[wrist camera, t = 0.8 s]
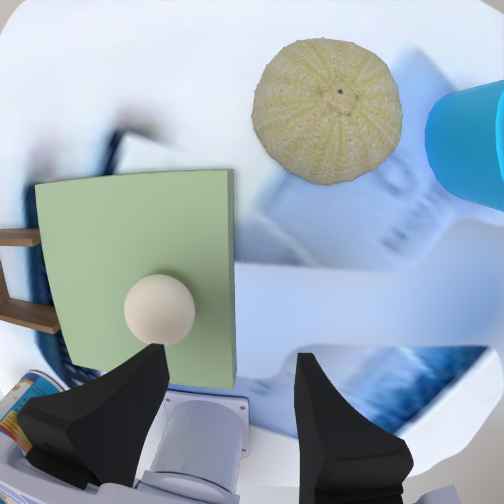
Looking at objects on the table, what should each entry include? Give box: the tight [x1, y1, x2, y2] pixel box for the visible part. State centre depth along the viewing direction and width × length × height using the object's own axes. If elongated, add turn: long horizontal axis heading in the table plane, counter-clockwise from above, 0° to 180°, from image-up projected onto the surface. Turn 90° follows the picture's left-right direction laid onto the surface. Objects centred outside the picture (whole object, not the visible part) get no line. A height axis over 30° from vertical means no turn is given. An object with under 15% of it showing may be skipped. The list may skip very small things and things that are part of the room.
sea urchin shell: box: [251, 37, 403, 186], centre depth 16 cm, size 9×8×8 cm
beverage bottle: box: [0, 371, 63, 504], centre depth 19 cm, size 8×8×20 cm
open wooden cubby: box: [0, 228, 61, 334], centre depth 20 cm, size 11×11×7 cm
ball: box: [124, 274, 195, 346], centre depth 18 cm, size 4×4×4 cm
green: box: [35, 169, 237, 390], centre depth 21 cm, size 16×15×2 cm
